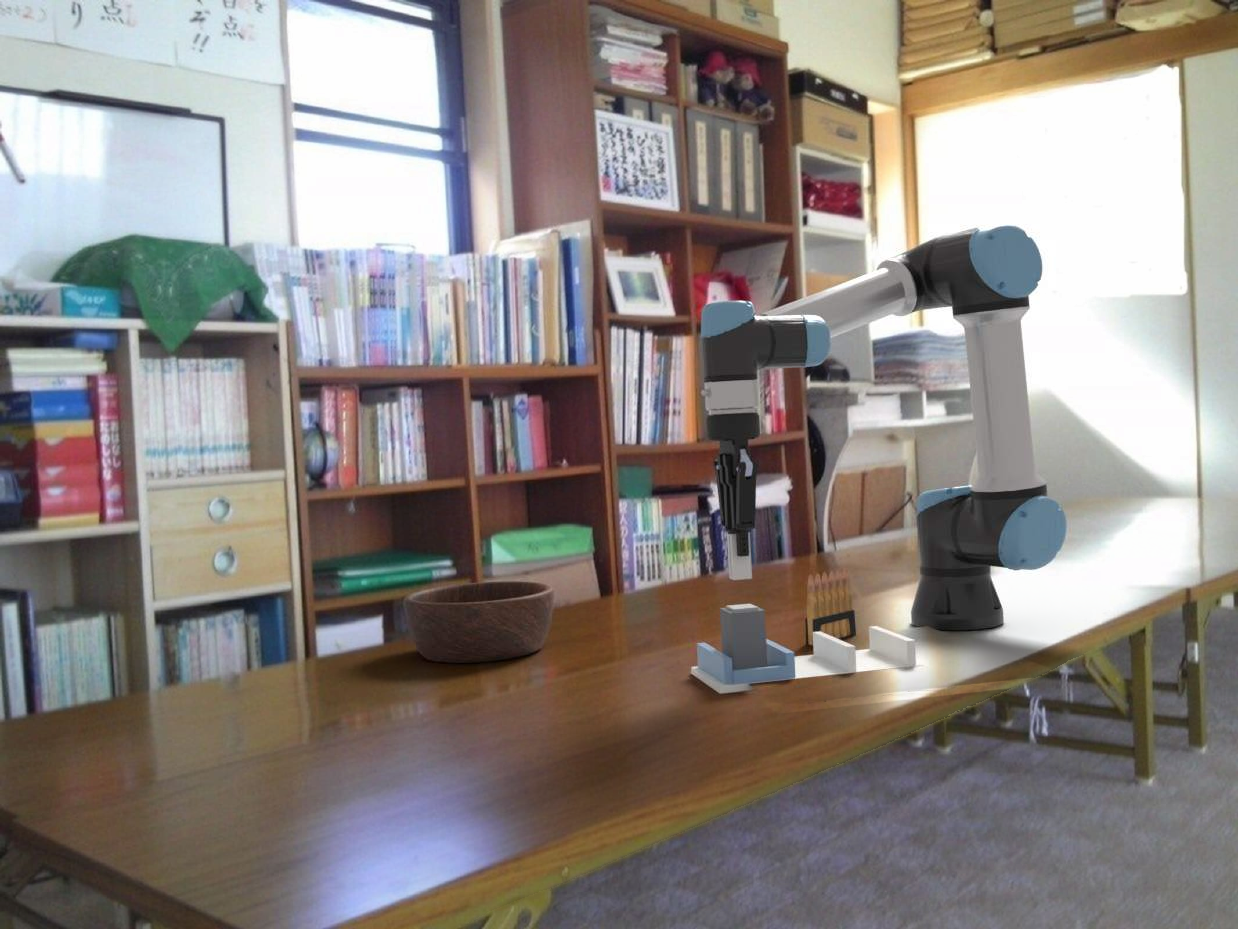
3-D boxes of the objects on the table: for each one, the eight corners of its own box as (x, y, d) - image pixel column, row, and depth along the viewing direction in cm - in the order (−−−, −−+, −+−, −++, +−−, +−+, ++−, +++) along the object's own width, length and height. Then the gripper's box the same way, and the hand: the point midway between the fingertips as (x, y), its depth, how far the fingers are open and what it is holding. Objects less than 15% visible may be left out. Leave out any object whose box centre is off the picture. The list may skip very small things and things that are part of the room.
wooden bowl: (376, 659, 209) (372, 598, 208) (489, 634, 227) (486, 577, 227) (474, 674, 192) (470, 608, 191) (587, 646, 210) (584, 585, 210)
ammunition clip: (815, 652, 194) (811, 575, 194) (805, 651, 196) (801, 574, 195) (856, 641, 201) (853, 567, 201) (847, 639, 203) (844, 566, 202)
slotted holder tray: (881, 654, 190) (880, 624, 190) (923, 672, 176) (922, 640, 176) (691, 673, 183) (689, 643, 183) (719, 693, 170) (718, 660, 169)
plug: (756, 667, 181) (753, 602, 180) (767, 673, 176) (764, 607, 175) (723, 670, 180) (719, 605, 179) (733, 677, 175) (730, 610, 174)
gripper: (693, 413, 182) (701, 575, 183) (721, 412, 169) (730, 586, 170) (742, 411, 184) (750, 570, 185) (773, 409, 170) (782, 582, 171)
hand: (740, 578), depth 177 cm, fingers closed
